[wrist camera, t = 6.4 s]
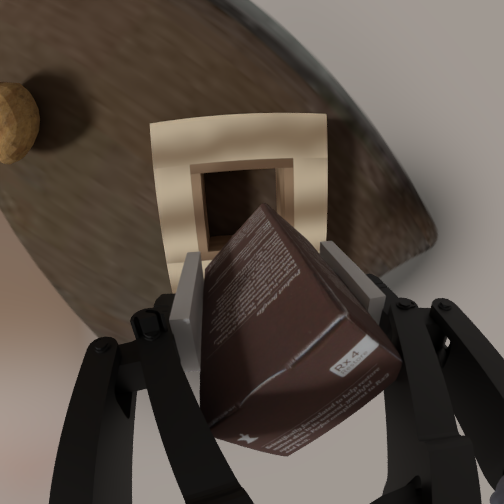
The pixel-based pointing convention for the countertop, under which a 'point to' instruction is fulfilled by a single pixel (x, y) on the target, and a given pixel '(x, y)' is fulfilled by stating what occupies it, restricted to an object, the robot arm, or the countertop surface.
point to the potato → (17, 122)
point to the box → (284, 341)
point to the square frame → (237, 158)
